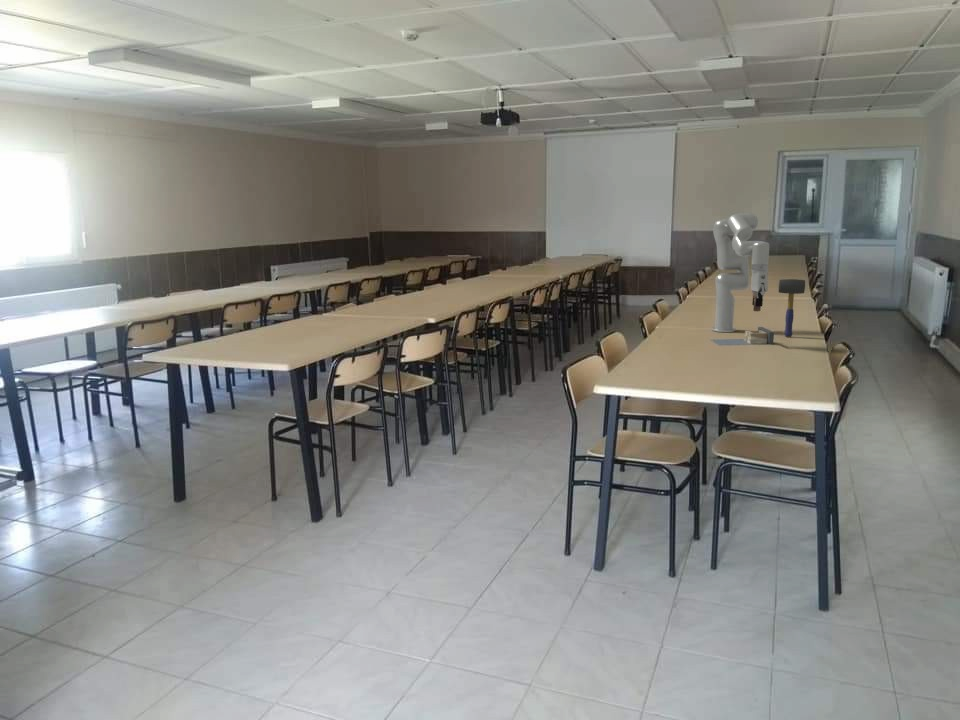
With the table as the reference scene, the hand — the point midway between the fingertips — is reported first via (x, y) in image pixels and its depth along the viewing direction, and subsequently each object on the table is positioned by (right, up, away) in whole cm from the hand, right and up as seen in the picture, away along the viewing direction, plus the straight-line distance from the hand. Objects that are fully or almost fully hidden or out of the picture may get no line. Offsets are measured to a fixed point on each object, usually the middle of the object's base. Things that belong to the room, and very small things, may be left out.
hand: (757, 305), depth 343 cm
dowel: (0, -3, +1) cm, 3 cm away
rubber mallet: (+25, -15, +22) cm, 36 cm away
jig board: (-7, -19, +4) cm, 21 cm away
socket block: (0, -18, +3) cm, 18 cm away
